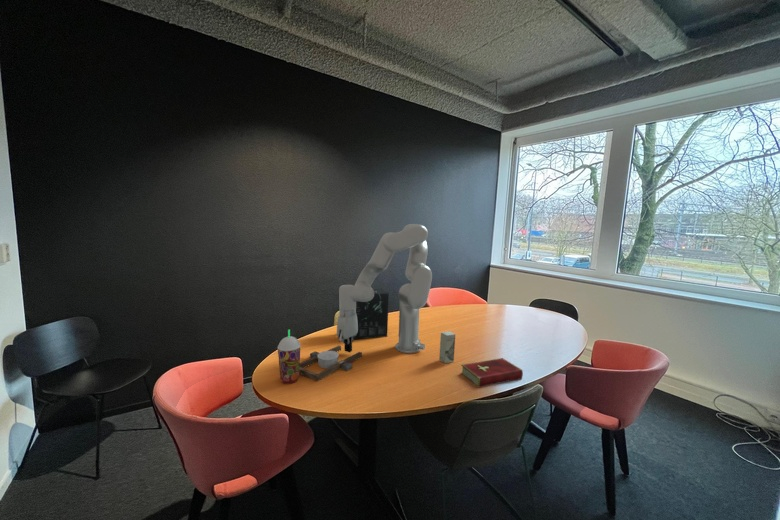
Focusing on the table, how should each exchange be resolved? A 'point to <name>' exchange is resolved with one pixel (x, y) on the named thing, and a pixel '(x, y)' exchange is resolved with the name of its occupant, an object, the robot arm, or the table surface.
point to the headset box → (373, 316)
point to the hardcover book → (491, 371)
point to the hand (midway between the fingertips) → (348, 351)
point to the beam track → (341, 364)
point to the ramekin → (327, 359)
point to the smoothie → (289, 359)
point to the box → (447, 347)
